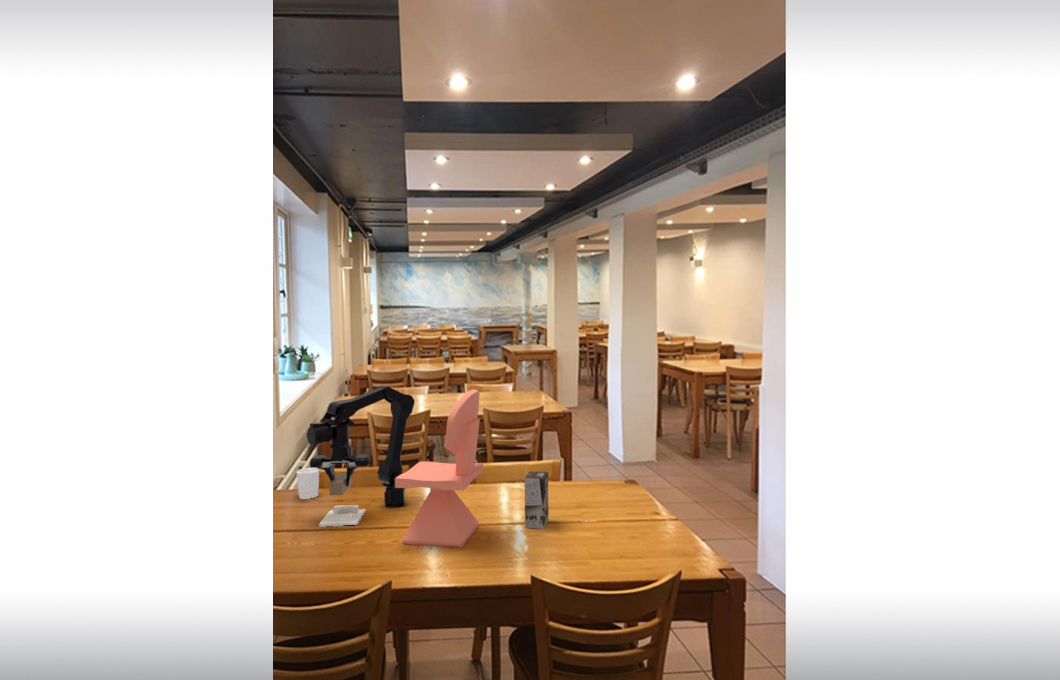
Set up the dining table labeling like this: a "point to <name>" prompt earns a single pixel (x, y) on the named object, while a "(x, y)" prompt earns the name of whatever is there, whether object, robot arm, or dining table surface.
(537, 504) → the coffee box
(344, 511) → the display rest
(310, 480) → the white cup
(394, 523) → the dining table surface
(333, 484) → the gray cuboid brick
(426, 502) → the chair
